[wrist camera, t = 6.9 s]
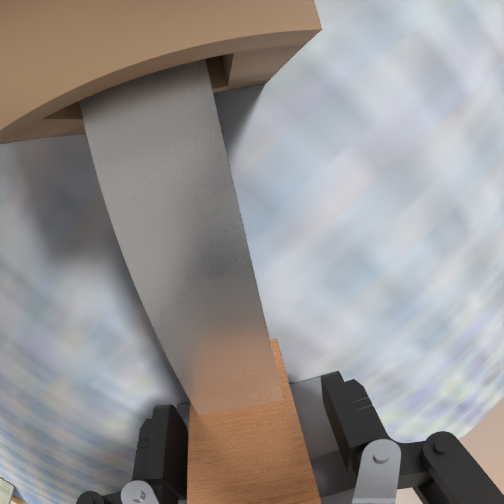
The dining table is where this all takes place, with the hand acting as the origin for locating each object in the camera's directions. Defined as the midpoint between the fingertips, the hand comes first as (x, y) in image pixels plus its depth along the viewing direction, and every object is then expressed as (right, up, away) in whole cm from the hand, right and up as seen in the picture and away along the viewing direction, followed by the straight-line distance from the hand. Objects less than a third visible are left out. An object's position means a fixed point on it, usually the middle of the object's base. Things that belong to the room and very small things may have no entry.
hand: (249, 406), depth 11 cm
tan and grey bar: (-1, +3, 0) cm, 4 cm away
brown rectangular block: (-3, +15, -4) cm, 16 cm away
